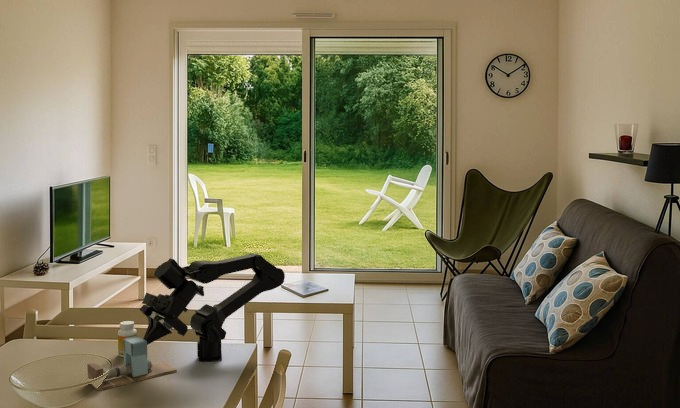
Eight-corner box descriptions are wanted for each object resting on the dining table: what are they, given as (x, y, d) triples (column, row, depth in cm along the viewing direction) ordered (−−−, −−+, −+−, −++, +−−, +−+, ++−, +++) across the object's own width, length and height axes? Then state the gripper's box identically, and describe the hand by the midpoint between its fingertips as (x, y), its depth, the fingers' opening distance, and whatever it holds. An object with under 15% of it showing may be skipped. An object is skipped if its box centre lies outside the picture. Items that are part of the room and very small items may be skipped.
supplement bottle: (131, 358, 199) (130, 325, 198) (114, 356, 200) (113, 324, 199) (140, 352, 204) (139, 320, 203) (124, 351, 205) (123, 319, 204)
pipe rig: (163, 363, 194) (163, 346, 194) (176, 371, 188) (176, 353, 188) (86, 382, 180) (85, 362, 179) (98, 390, 174) (97, 371, 173)
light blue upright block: (137, 367, 188) (137, 335, 187) (147, 373, 184) (147, 341, 183) (124, 370, 185) (123, 338, 184) (133, 377, 181) (132, 344, 180)
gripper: (145, 276, 194) (108, 320, 188) (176, 287, 180) (138, 336, 174) (170, 299, 200) (135, 342, 194) (203, 312, 186) (166, 359, 180)
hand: (143, 344), depth 185 cm, fingers closed, pressing on light blue upright block
